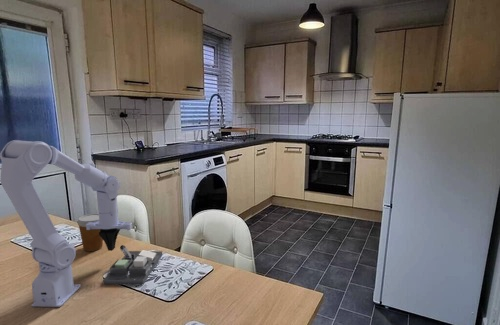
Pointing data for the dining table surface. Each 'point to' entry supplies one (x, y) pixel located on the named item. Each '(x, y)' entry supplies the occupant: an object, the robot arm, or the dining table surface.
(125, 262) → the button
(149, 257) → the rocker
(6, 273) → the dining table surface
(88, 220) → the disposable coffee cup
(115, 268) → the panel
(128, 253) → the toggle lever
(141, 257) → the button
